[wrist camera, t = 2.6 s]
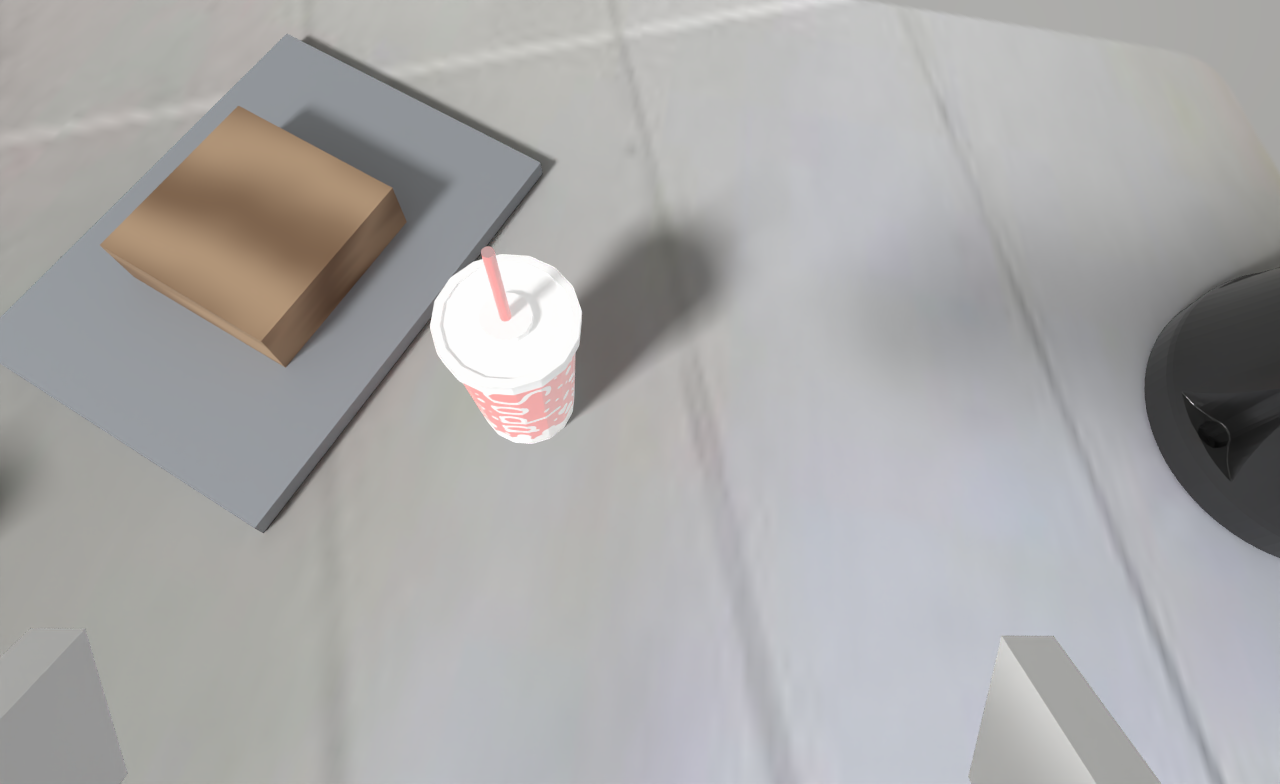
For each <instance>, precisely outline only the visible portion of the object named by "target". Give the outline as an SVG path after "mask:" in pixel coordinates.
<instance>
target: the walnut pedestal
mask: <svg viewBox="0 0 1280 784" xmlns="http://www.w3.org/2000/svg"><path fill="white" fill-rule="evenodd" d="M406 222H407V221H406V219H405V216H404V214H403V212H402V209H401V207H400V204H399V202H398V200H397V197H396V195H395V193H394V190H393V188H392V187H390V186H388V185H386V184H384V183H382V182H381V181H379V180H377V179H375V178H373V177H371V176H369V175H367V174H366V173H364V172H362V171H360V170H358V169H356V168H354V167H353V166H351V165H349V164H347V163H345V162H343V161H341V160H339V159H338V158H336V157H334V156H332V155H330V154H328V153H326V152H324V151H323V150H321V149H319V148H317V147H315V146H313V145H311V144H309V143H308V142H306V141H304V140H302V139H300V138H298V137H296V136H295V135H293V134H291V133H289V132H287V131H285V130H283V129H281V128H280V127H278V126H276V125H274V124H272V123H270V122H268V121H266V120H265V119H263V118H261V117H259V116H257V115H255V114H253V113H251V112H250V111H248V110H246V109H244V108H242V107H240V106H237V107H236V108H235V109H234V110H233V111H232V112H231V113H230V114H229V115H228V116H227V117H226V118H225V119H224V120H223V121H222V122H221V123H220V124H219V125H218V126H217V127H216V128H215V129H214V130H213V131H212V132H211V134H210V135H209V136H208V137H207V138H206V139H205V140H204V141H203V142H202V143H201V144H200V145H199V146H198V147H197V148H196V149H195V150H194V151H193V152H192V153H191V154H190V155H189V156H188V157H187V158H186V159H185V160H184V161H183V162H182V163H181V164H180V165H179V166H178V167H177V168H176V169H175V170H174V171H173V172H172V173H171V174H170V175H169V176H168V177H167V178H166V179H165V180H164V181H163V182H162V183H161V184H160V185H159V186H158V187H157V188H156V189H155V190H154V191H153V192H152V193H151V194H150V195H149V196H148V197H147V198H146V199H145V200H144V201H143V202H142V203H141V204H140V205H139V206H138V207H137V208H136V209H135V210H134V211H133V212H132V213H131V214H130V215H129V216H128V217H127V218H126V219H125V220H124V221H123V222H122V223H121V224H120V225H119V226H118V227H117V228H116V229H115V230H114V231H113V232H112V233H111V234H110V235H109V236H108V237H107V238H106V239H105V240H104V241H103V242H102V243H101V244H100V246H101V247H102V248H103V249H104V250H105V251H106V252H107V253H109V254H110V255H111V256H112V257H113V258H114V259H115V260H116V261H117V262H118V263H119V264H120V265H121V266H123V267H124V268H125V269H126V270H127V271H128V272H129V273H130V274H131V275H132V276H133V277H135V278H137V279H138V280H140V281H142V282H143V283H145V284H147V285H148V286H150V287H152V288H153V289H155V290H157V291H158V292H160V293H162V294H163V295H165V296H167V297H168V298H170V299H172V300H173V301H175V302H177V303H178V304H180V305H182V306H183V307H185V308H187V309H188V310H190V311H192V312H193V313H195V314H197V315H198V316H200V317H202V318H203V319H205V320H207V321H208V322H210V323H212V324H213V325H215V326H217V327H218V328H220V329H222V330H223V331H225V332H227V333H228V334H230V335H232V336H233V337H235V338H237V339H238V340H240V341H242V342H244V343H245V344H247V345H249V346H250V347H252V348H254V349H255V350H257V351H259V352H260V353H262V354H264V355H265V356H267V357H269V358H270V359H272V360H274V361H275V362H277V363H279V364H280V365H282V366H284V367H285V368H286V366H287V365H288V364H289V363H290V362H291V360H292V359H293V358H294V357H295V356H296V354H297V353H298V352H299V351H300V350H301V348H302V347H303V346H304V345H305V344H306V342H307V341H308V340H309V339H310V338H311V336H312V335H313V334H314V333H315V332H316V330H317V329H318V328H319V327H320V326H321V324H322V323H323V322H324V321H325V320H326V318H327V317H328V316H329V315H330V314H331V312H332V311H333V310H334V309H335V308H336V306H337V305H338V304H339V303H340V302H341V300H342V299H343V298H344V297H345V296H346V294H347V293H348V292H349V291H350V290H351V288H352V287H353V286H354V285H355V284H356V282H357V281H358V280H359V279H360V278H361V276H362V275H363V274H364V273H365V272H366V270H367V269H368V268H369V267H370V266H371V264H372V263H373V262H374V261H375V260H376V258H377V257H378V256H379V255H380V254H381V252H382V251H383V250H384V249H385V248H386V246H387V245H388V244H389V243H390V242H391V240H392V239H393V238H394V237H395V236H396V234H397V233H398V232H399V231H400V230H401V228H402V227H403V226H404V225H405V224H406Z"/></svg>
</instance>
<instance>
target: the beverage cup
mask: <svg viewBox="0 0 1280 784" xmlns="http://www.w3.org/2000/svg"><path fill="white" fill-rule="evenodd" d="M481 255H482V258H483V259H481V260H478V261H474V262H472V263H471V264H469V265H468V266H466V267H465V268H464V269H462V270H461V271H459V272H458V273H456V274H455V275H453V276H452V277H451V278H450V279H449V280H448V282H447V283H446V285H445V286H444V288H443V289H442V291H441V292H440V293H439V295H438V296H437V298H436V299H435V301H434V307H433V312H432V318H431V323H430V330H431V333H432V337H433V341H434V344H435V348H436V352H437V354H438V356H439V357H440V358H441V361H442V362H443V363H444V364H445V365H446V366H447V368H448V369H449V370H450V371H451V372H452V373H453V375H454V376H455V377H456V378H457V379H458V380H459V381H460V382H462V383H463V384H464V385H465V387H466V389H467V390H468V392H469V393H470V395H471V396H472V398H473V399H474V401H475V403H476V404H477V406H478V407H479V409H480V410H481V412H482V414H483V415H484V417H485V418H486V420H487V421H488V423H489V424H490V425H491V426H492V427H493V429H494V430H495V431H496V432H497V433H498V434H499V435H500V436H502V437H504V438H506V439H509V440H511V441H513V442H515V443H529V444H534V443H537V442H540V441H543V440H547V439H550V438H551V437H553V436H554V435H555V434H556V433H558V432H559V431H560V430H561V429H563V428H564V427H565V425H566V423H567V421H568V420H569V418H570V416H571V414H572V413H573V405H574V392H575V352H576V350H577V349H578V347H579V343H580V334H581V324H582V310H581V307H580V304H579V302H578V299H577V296H576V293H575V290H574V287H573V286H572V285H571V284H570V283H569V282H568V281H567V279H566V278H565V277H564V276H563V275H562V274H561V273H560V272H559V271H558V270H557V269H556V268H555V267H553V266H551V265H549V264H546V263H544V262H542V261H540V260H537V259H535V258H533V257H531V256H522V255H507V254H500V255H495V251H494V249H493V248H492V247H490V246H486V247H484V248H483V249H482V250H481Z"/></svg>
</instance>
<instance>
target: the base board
mask: <svg viewBox="0 0 1280 784" xmlns="http://www.w3.org/2000/svg"><path fill="white" fill-rule="evenodd" d="M237 106H240V107H242V108H244V109H246V110H248V111H250V112H251V113H253V114H255V115H257V116H259V117H261V118H263V119H265V120H266V121H268V122H270V123H272V124H274V125H276V126H278V127H280V128H281V129H283V130H285V131H287V132H289V133H291V134H293V135H295V136H296V137H298V138H300V139H302V140H304V141H306V142H308V143H309V144H311V145H313V146H315V147H317V148H319V149H321V150H323V151H324V152H326V153H328V154H330V155H332V156H334V157H336V158H338V159H339V160H341V161H343V162H345V163H347V164H349V165H351V166H353V167H354V168H356V169H358V170H360V171H362V172H364V173H366V174H367V175H369V176H371V177H373V178H375V179H377V180H379V181H381V182H382V183H384V184H386V185H388V186H390V187H392V188H393V190H394V193H395V195H396V197H397V200H398V202H399V204H400V207H401V209H402V212H403V214H404V216H405V219H406V221H407V222H406V224H405V225H404V226H403V227H402V228H401V230H400V231H399V232H398V233H397V234H396V236H395V237H394V238H393V239H392V240H391V242H390V243H389V244H388V245H387V246H386V248H385V249H384V250H383V251H382V252H381V254H380V255H379V256H378V257H377V258H376V260H375V261H374V262H373V263H372V264H371V266H370V267H369V268H368V269H367V270H366V272H365V273H364V274H363V275H362V276H361V278H360V279H359V280H358V281H357V282H356V284H355V285H354V286H353V287H352V288H351V290H350V291H349V292H348V293H347V294H346V296H345V297H344V298H343V299H342V300H341V302H340V303H339V304H338V305H337V306H336V308H335V309H334V310H333V311H332V312H331V314H330V315H329V316H328V317H327V318H326V320H325V321H324V322H323V323H322V324H321V326H320V327H319V328H318V329H317V330H316V332H315V333H314V334H313V335H312V336H311V338H310V339H309V340H308V341H307V342H306V344H305V345H304V346H303V347H302V348H301V350H300V351H299V352H298V353H297V354H296V356H295V357H294V358H293V359H292V360H291V362H290V363H289V364H288V365H287V366H286V368H285V367H284V366H282V365H280V364H279V363H277V362H275V361H274V360H272V359H270V358H269V357H267V356H265V355H264V354H262V353H260V352H259V351H257V350H255V349H254V348H252V347H250V346H249V345H247V344H245V343H244V342H242V341H240V340H238V339H237V338H235V337H233V336H232V335H230V334H228V333H227V332H225V331H223V330H222V329H220V328H218V327H217V326H215V325H213V324H212V323H210V322H208V321H207V320H205V319H203V318H202V317H200V316H198V315H197V314H195V313H193V312H192V311H190V310H188V309H187V308H185V307H183V306H182V305H180V304H178V303H177V302H175V301H173V300H172V299H170V298H168V297H167V296H165V295H163V294H162V293H160V292H158V291H157V290H155V289H153V288H152V287H150V286H148V285H147V284H145V283H143V282H142V281H140V280H138V279H137V278H135V277H133V276H132V275H131V274H130V273H129V272H128V271H127V270H126V269H125V268H124V267H123V266H121V265H120V264H119V263H118V262H117V261H116V260H115V259H114V258H113V257H112V256H111V255H110V254H109V253H107V252H106V251H105V250H104V249H103V248H102V247H101V246H100V244H101V243H102V242H103V241H104V240H105V239H106V238H107V237H108V236H109V235H110V234H111V233H112V232H113V231H114V230H115V229H116V228H117V227H118V226H119V225H120V224H121V223H122V222H123V221H124V220H125V219H126V218H127V217H128V216H129V215H130V214H131V213H132V212H133V211H134V210H135V209H136V208H137V207H138V206H139V205H140V204H141V203H142V202H143V201H144V200H145V199H146V198H147V197H148V196H149V195H150V194H151V193H152V192H153V191H154V190H155V189H156V188H157V187H158V186H159V185H160V184H161V183H162V182H163V181H164V180H165V179H166V178H167V177H168V176H169V175H170V174H171V173H172V172H173V171H174V170H175V169H176V168H177V167H178V166H179V165H180V164H181V163H182V162H183V161H184V160H185V159H186V158H187V157H188V156H189V155H190V154H191V153H192V152H193V151H194V150H195V149H196V148H197V147H198V146H199V145H200V144H201V143H202V142H203V141H204V140H205V139H206V138H207V137H208V136H209V135H210V134H211V132H212V131H213V130H214V129H215V128H216V127H217V126H218V125H219V124H220V123H221V122H222V121H223V120H224V119H225V118H226V117H227V116H228V115H229V114H230V113H231V112H232V111H233V110H234V109H235V108H236V107H237ZM541 175H542V168H541V163H540V162H538V161H536V160H534V159H532V158H531V157H529V156H527V155H525V154H523V153H521V152H519V151H517V150H515V149H513V148H511V147H509V146H507V145H505V144H503V143H501V142H499V141H497V140H495V139H493V138H491V137H489V136H487V135H485V134H483V133H481V132H479V131H477V130H475V129H473V128H471V127H470V126H468V125H466V124H464V123H462V122H460V121H458V120H456V119H454V118H452V117H450V116H448V115H446V114H444V113H442V112H440V111H438V110H436V109H434V108H432V107H430V106H428V105H426V104H424V103H422V102H420V101H418V100H416V99H414V98H412V97H410V96H409V95H407V94H405V93H403V92H401V91H399V90H397V89H395V88H393V87H391V86H389V85H387V84H385V83H383V82H381V81H379V80H377V79H375V78H373V77H371V76H369V75H367V74H365V73H363V72H361V71H359V70H357V69H355V68H353V67H351V66H349V65H348V64H346V63H344V62H342V61H340V60H338V59H336V58H334V57H332V56H330V55H328V54H326V53H324V52H322V51H320V50H318V49H316V48H314V47H312V46H310V45H308V44H306V43H304V42H302V41H300V40H298V39H296V38H294V37H292V36H290V35H288V34H286V35H285V36H284V37H283V38H282V39H281V40H280V41H279V42H278V43H277V44H276V45H275V46H274V47H273V48H272V49H271V50H270V51H269V52H268V53H267V54H266V55H265V56H264V57H263V58H262V59H261V60H260V61H259V62H258V63H257V64H256V65H255V66H254V67H253V68H252V69H251V70H250V71H249V72H248V73H247V74H246V75H245V76H244V77H243V78H242V79H241V80H240V81H239V82H237V83H236V84H235V85H234V86H233V87H232V88H231V89H230V90H229V91H228V92H227V93H226V94H225V95H224V96H223V97H222V98H221V99H220V100H219V101H218V102H217V103H216V104H215V105H214V106H213V107H212V108H211V109H210V110H209V111H208V112H207V113H206V114H205V115H204V116H203V117H202V118H201V119H200V120H199V121H198V122H197V123H196V124H195V125H194V126H193V127H192V128H191V129H190V130H189V131H188V132H187V133H186V134H185V135H184V136H183V137H182V138H181V139H180V140H179V141H178V142H177V143H176V144H175V145H174V146H173V147H172V148H171V149H170V150H169V151H168V152H167V153H166V154H165V155H164V156H163V157H162V158H161V159H160V160H159V161H158V162H157V163H156V164H155V165H154V166H153V167H152V168H151V169H150V170H149V171H148V172H147V173H146V174H145V175H144V176H143V177H142V178H141V179H140V180H139V181H138V182H137V183H136V184H135V185H134V186H133V187H132V188H131V189H130V190H129V191H128V192H127V193H126V194H124V195H123V196H122V197H121V198H120V199H119V200H118V201H117V202H116V203H115V204H114V205H113V206H112V207H111V208H110V209H109V210H108V211H107V212H106V213H105V214H104V215H103V216H102V217H101V218H100V219H99V220H98V221H97V222H96V223H95V224H94V225H93V226H92V227H91V228H90V229H89V230H88V231H87V232H86V233H85V234H84V235H83V236H82V237H81V238H80V239H79V240H78V241H77V242H76V243H75V244H74V245H73V246H72V247H71V248H70V249H69V250H68V251H67V252H66V253H65V254H64V255H63V256H62V257H61V258H60V259H59V260H58V261H57V262H56V263H55V264H54V265H53V266H52V267H51V268H50V269H49V270H48V271H47V272H46V273H45V274H44V275H43V276H42V277H41V278H40V279H39V280H38V281H37V282H36V283H35V284H34V285H33V286H32V287H31V288H30V289H29V290H28V291H27V292H26V293H25V294H24V295H23V296H22V297H21V298H20V299H19V300H18V301H17V302H16V303H15V304H14V305H13V306H12V307H10V308H9V309H8V310H7V311H6V312H5V313H4V314H3V315H2V316H1V317H0V364H2V365H3V366H5V367H6V368H8V369H10V370H11V371H13V372H14V373H16V374H17V375H19V376H20V377H22V378H23V379H25V380H27V381H28V382H30V383H31V384H33V385H34V386H36V387H37V388H39V389H40V390H42V391H44V392H45V393H47V394H48V395H50V396H51V397H53V398H54V399H56V400H57V401H59V402H61V403H62V404H64V405H65V406H67V407H68V408H70V409H71V410H73V411H74V412H76V413H78V414H79V415H81V416H82V417H84V418H85V419H87V420H88V421H90V422H91V423H93V424H95V425H96V426H98V427H99V428H101V429H102V430H104V431H105V432H107V433H108V434H110V435H112V436H113V437H115V438H116V439H118V440H119V441H121V442H122V443H124V444H125V445H127V446H129V447H130V448H132V449H133V450H135V451H136V452H138V453H139V454H141V455H142V456H144V457H145V458H147V459H149V460H150V461H152V462H153V463H155V464H156V465H158V466H159V467H161V468H162V469H164V470H166V471H167V472H169V473H170V474H172V475H173V476H175V477H176V478H178V479H179V480H181V481H183V482H184V483H186V484H187V485H189V486H190V487H192V488H193V489H195V490H196V491H198V492H200V493H201V494H203V495H204V496H206V497H207V498H209V499H210V500H212V501H213V502H215V503H217V504H218V505H220V506H221V507H223V508H224V509H226V510H227V511H229V512H230V513H232V514H234V515H235V516H237V517H238V518H240V519H241V520H243V521H244V522H246V523H247V524H249V525H251V526H252V527H254V528H255V529H257V530H259V531H261V532H263V533H264V531H265V530H266V529H267V528H268V526H269V525H270V524H271V522H272V521H273V520H274V519H275V517H276V516H277V515H278V513H279V512H280V511H281V510H282V508H283V507H284V506H285V504H286V503H287V502H288V501H289V499H290V498H291V497H292V495H293V494H294V493H295V492H296V490H297V489H298V488H299V486H300V485H301V484H302V483H303V481H304V480H305V479H306V477H307V476H308V475H309V474H310V472H311V471H312V470H313V468H314V467H315V466H316V465H317V463H318V462H319V461H320V459H321V458H322V457H323V456H324V454H325V453H326V452H327V450H328V449H329V448H330V447H331V445H332V444H333V443H334V441H335V440H336V439H337V438H338V436H339V435H340V434H341V432H342V431H343V430H344V429H345V427H346V426H347V425H348V423H349V422H350V421H351V419H352V418H353V417H354V416H355V414H356V413H357V412H358V410H359V409H360V408H361V407H362V405H363V404H364V403H365V401H366V400H367V399H368V398H369V396H370V395H371V394H372V392H373V391H374V390H375V389H376V387H377V386H378V385H379V383H380V382H381V381H382V380H383V378H384V377H385V376H386V374H387V373H388V372H389V371H390V369H391V368H392V367H393V365H394V364H395V363H396V362H397V360H398V359H399V358H400V356H401V355H402V354H403V353H404V351H405V350H406V349H407V347H408V346H409V345H410V344H411V342H412V341H413V340H414V338H415V337H416V336H417V335H418V333H419V332H420V331H421V329H422V328H423V327H424V326H425V324H426V323H427V322H428V320H429V319H430V318H431V316H432V312H433V307H434V301H435V299H436V298H437V296H438V295H439V293H440V292H441V291H442V289H443V288H444V286H445V285H446V283H447V282H448V280H449V279H450V278H451V277H452V276H453V275H455V274H456V273H458V272H459V271H461V270H462V269H464V268H465V267H466V266H468V265H469V264H471V263H472V262H474V261H475V260H476V259H477V257H478V256H479V255H480V253H481V250H482V249H483V248H484V247H486V246H487V244H488V243H489V242H490V241H491V239H492V238H493V237H494V235H495V234H496V233H497V232H498V230H499V229H500V228H501V226H502V225H503V224H504V223H505V221H506V220H507V219H508V217H509V216H510V215H511V213H512V212H513V211H514V210H515V208H516V207H517V206H518V204H519V203H520V202H521V201H522V199H523V198H524V197H525V195H526V194H527V193H528V192H529V190H530V189H531V188H532V186H533V185H534V184H535V183H536V181H537V180H538V179H539V177H540V176H541Z"/></svg>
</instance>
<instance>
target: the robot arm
mask: <svg viewBox="0 0 1280 784" xmlns="http://www.w3.org/2000/svg"><path fill="white" fill-rule="evenodd" d="M1145 401H1146V409H1147V414H1148V419H1149V422H1150V426H1151V429H1152V432H1153V435H1154V438H1155V440H1156V443H1157V445H1158V447H1159V449H1160V451H1161V453H1162V455H1163V457H1164V459H1165V461H1166V463H1167V464H1168V466H1169V468H1170V469H1171V471H1172V472H1173V474H1174V475H1175V477H1176V478H1177V480H1178V481H1179V482H1180V484H1181V485H1182V486H1183V488H1184V489H1185V490H1186V491H1187V492H1188V494H1189V495H1190V496H1191V497H1192V498H1193V499H1194V500H1195V501H1196V502H1197V503H1198V504H1199V505H1200V506H1201V507H1202V508H1203V510H1205V511H1206V512H1207V513H1208V514H1209V515H1210V516H1211V517H1212V518H1213V519H1215V520H1216V521H1217V522H1218V523H1220V524H1221V525H1222V526H1223V527H1225V528H1226V529H1227V530H1229V531H1230V532H1232V533H1233V534H1235V535H1236V536H1238V537H1239V538H1241V539H1242V540H1244V541H1246V542H1247V543H1249V544H1251V545H1253V546H1255V547H1256V548H1258V549H1260V550H1263V551H1265V552H1267V553H1269V554H1271V555H1274V556H1276V557H1279V558H1280V267H1279V268H1275V269H1272V270H1269V271H1265V272H1261V273H1255V274H1250V275H1246V276H1242V277H1239V278H1236V279H1233V280H1231V281H1229V282H1226V283H1224V284H1222V285H1220V286H1218V287H1216V288H1214V289H1212V290H1211V291H1209V292H1208V293H1206V294H1205V295H1203V296H1202V297H1201V298H1199V299H1198V300H1197V301H1195V302H1194V303H1192V304H1191V305H1190V306H1188V307H1187V308H1186V309H1184V310H1183V311H1182V312H1180V313H1179V314H1178V315H1177V316H1175V317H1174V318H1173V319H1172V320H1171V321H1170V322H1169V323H1168V325H1167V326H1166V327H1165V328H1164V329H1163V331H1162V332H1161V334H1160V335H1159V337H1158V339H1157V340H1156V342H1155V344H1154V346H1153V348H1152V351H1151V354H1150V357H1149V360H1148V364H1147V369H1146V376H1145ZM127 774H128V773H127V769H126V766H125V763H124V759H123V756H122V752H121V749H120V745H119V742H118V739H117V735H116V732H115V728H114V725H113V722H112V718H111V715H110V711H109V708H108V704H107V701H106V698H105V694H104V691H103V687H102V684H101V680H100V677H99V674H98V670H97V667H96V663H95V660H94V657H93V653H92V650H91V646H90V643H89V639H88V636H87V633H86V629H79V628H30V629H29V630H28V631H27V632H26V633H25V634H24V635H23V636H22V637H21V638H20V639H19V640H18V641H17V642H16V643H15V644H13V645H12V646H11V647H10V648H9V649H8V650H7V651H6V652H5V653H4V654H3V655H2V656H1V657H0V784H121V782H122V781H123V779H124V778H125V777H126V775H127ZM968 777H969V779H970V781H971V784H1161V783H1160V781H1159V780H1158V778H1157V777H1156V776H1155V774H1154V773H1153V772H1152V770H1151V769H1150V768H1149V766H1148V765H1147V763H1146V762H1145V761H1144V759H1143V758H1142V757H1141V755H1140V754H1139V752H1138V751H1137V750H1136V748H1135V747H1134V746H1133V744H1132V743H1131V741H1130V740H1129V739H1128V737H1127V736H1126V735H1125V733H1124V732H1123V731H1122V729H1121V728H1120V726H1119V725H1118V724H1117V722H1116V721H1115V720H1114V718H1113V717H1112V715H1111V714H1110V713H1109V711H1108V710H1107V709H1106V707H1105V706H1104V704H1103V703H1102V702H1101V700H1100V699H1099V698H1098V696H1097V695H1096V693H1095V692H1094V691H1093V689H1092V688H1091V687H1090V685H1089V684H1088V683H1087V681H1086V680H1085V678H1084V677H1083V676H1082V674H1081V673H1080V672H1079V670H1078V669H1077V667H1076V666H1075V665H1074V663H1073V662H1072V661H1071V659H1070V658H1069V656H1068V655H1067V654H1066V652H1065V651H1064V650H1063V648H1062V647H1061V646H1060V644H1059V643H1058V641H1057V640H1056V639H1055V637H1054V636H1001V640H1000V645H999V649H998V653H997V657H996V662H995V666H994V670H993V674H992V678H991V683H990V687H989V691H988V695H987V700H986V704H985V708H984V712H983V717H982V721H981V725H980V729H979V734H978V738H977V742H976V746H975V750H974V755H973V759H972V763H971V767H970V772H969V776H968Z"/></svg>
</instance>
